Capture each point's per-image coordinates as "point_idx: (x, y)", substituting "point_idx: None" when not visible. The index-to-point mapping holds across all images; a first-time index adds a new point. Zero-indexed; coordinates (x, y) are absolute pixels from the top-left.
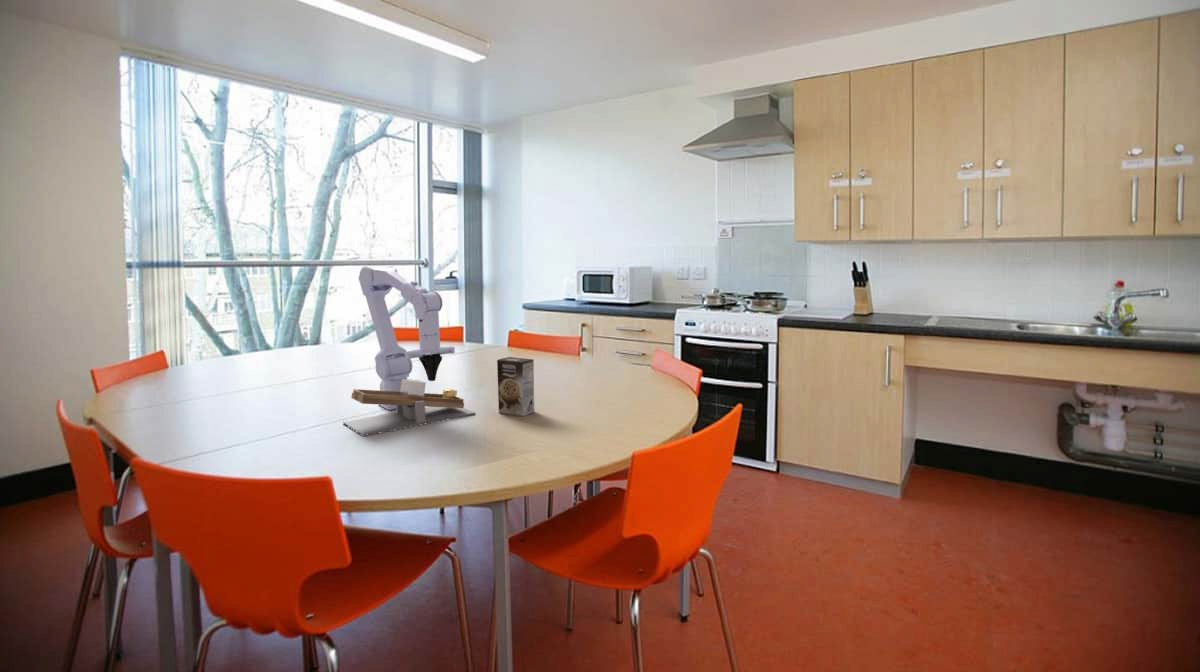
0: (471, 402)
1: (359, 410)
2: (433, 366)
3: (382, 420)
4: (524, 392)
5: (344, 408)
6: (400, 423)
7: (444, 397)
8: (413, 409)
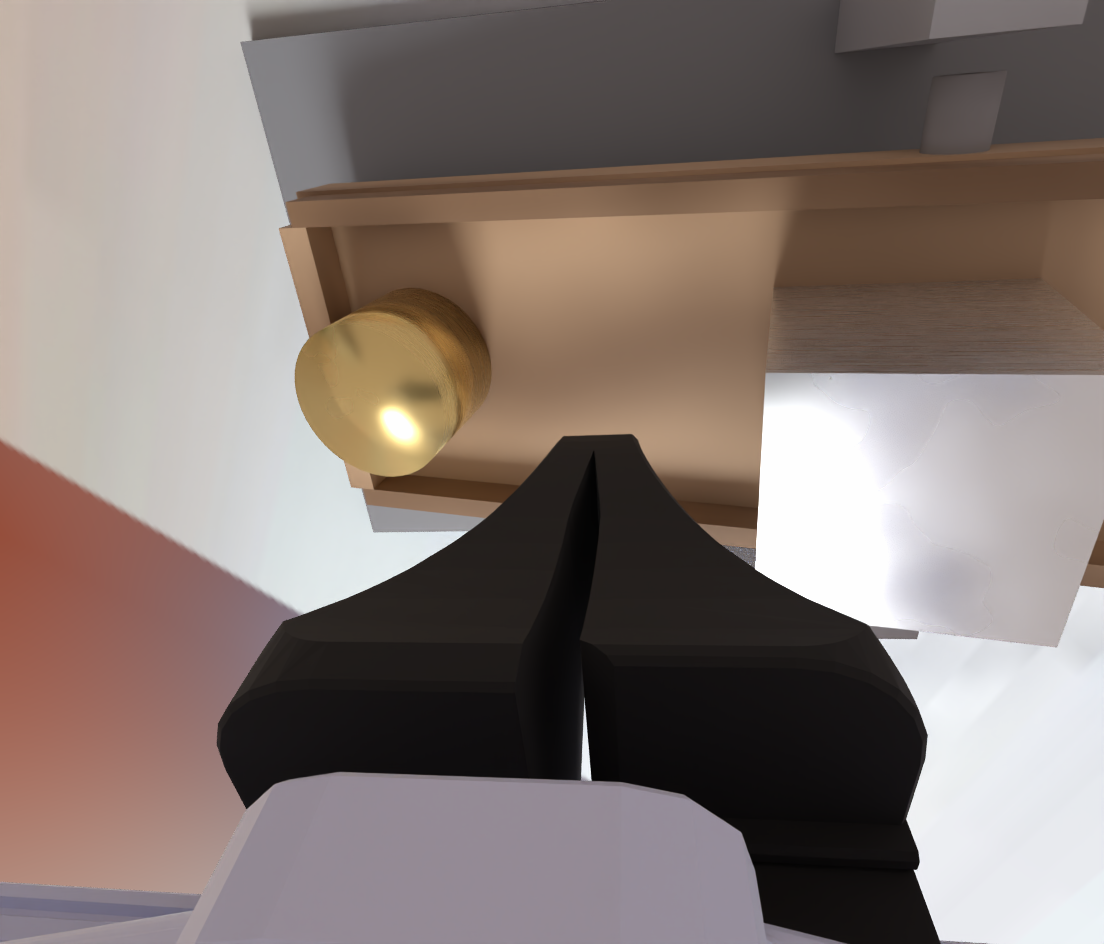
0: (216, 493)
1: (955, 746)
2: (565, 585)
3: None
4: None
5: (986, 824)
6: (1075, 116)
7: (471, 348)
8: None
